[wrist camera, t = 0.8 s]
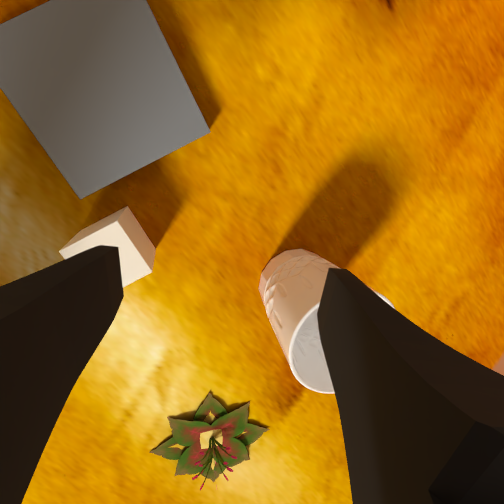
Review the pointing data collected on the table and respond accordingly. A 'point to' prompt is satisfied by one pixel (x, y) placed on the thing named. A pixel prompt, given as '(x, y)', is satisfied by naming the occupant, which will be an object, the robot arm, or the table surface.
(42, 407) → the robot arm
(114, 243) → the cream block
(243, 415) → the lily flower
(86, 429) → the table surface
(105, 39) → the slate tile
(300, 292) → the white cup
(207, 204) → the table surface
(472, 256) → the table surface
